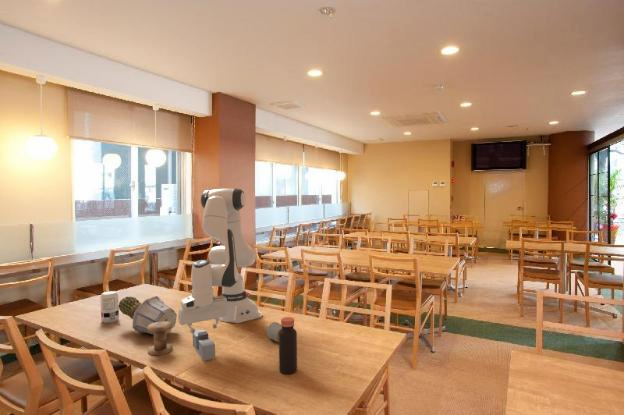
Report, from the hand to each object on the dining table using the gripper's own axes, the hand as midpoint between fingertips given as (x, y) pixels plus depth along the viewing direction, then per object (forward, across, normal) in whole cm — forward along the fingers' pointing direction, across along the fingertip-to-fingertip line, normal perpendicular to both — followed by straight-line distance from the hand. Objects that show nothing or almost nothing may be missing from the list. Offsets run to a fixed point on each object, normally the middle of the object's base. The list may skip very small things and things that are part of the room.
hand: (203, 330), depth 164 cm
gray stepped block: (+9, +1, +1) cm, 9 cm away
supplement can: (+10, +34, -62) cm, 72 cm away
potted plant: (+10, +20, -36) cm, 42 cm away
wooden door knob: (+9, +17, -9) cm, 21 cm away
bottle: (+9, -23, +35) cm, 43 cm away
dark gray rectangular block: (+8, +1, +1) cm, 8 cm away
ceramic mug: (+10, -33, +6) cm, 35 cm away
